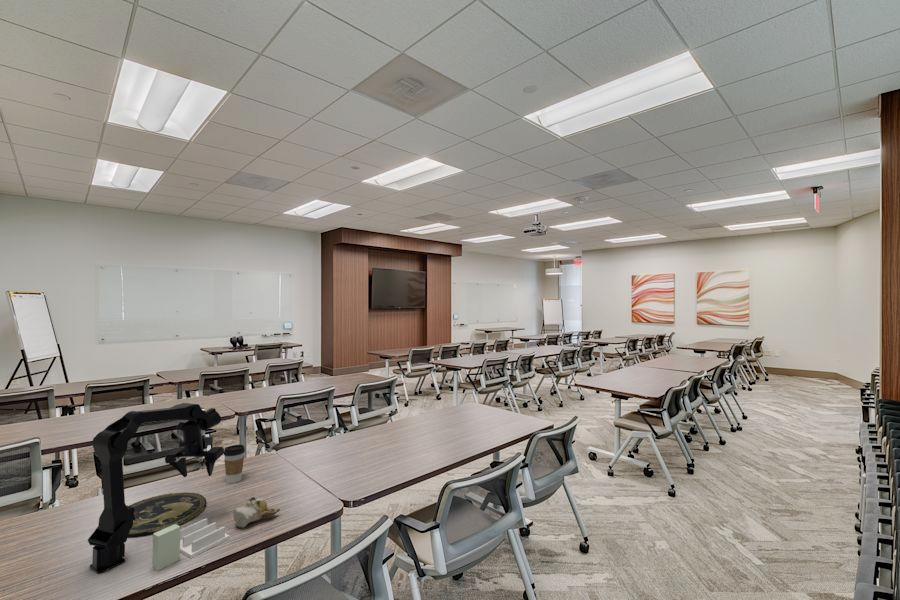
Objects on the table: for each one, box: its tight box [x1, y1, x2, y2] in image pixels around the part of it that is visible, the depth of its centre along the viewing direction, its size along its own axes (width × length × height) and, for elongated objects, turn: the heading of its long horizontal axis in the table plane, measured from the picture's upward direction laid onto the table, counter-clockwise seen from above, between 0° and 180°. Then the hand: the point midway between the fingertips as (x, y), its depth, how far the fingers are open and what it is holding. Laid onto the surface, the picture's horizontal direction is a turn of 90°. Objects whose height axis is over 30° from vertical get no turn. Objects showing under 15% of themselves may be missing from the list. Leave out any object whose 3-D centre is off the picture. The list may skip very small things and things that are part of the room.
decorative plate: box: [127, 491, 207, 539], centre depth 146 cm, size 30×2×30 cm
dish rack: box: [180, 517, 230, 559], centre depth 129 cm, size 12×13×4 cm
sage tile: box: [151, 524, 181, 572], centre depth 118 cm, size 6×3×10 cm, turn 150°
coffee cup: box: [223, 444, 246, 484], centre depth 175 cm, size 8×8×15 cm
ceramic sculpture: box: [232, 497, 281, 528], centre depth 142 cm, size 11×9×15 cm
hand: (198, 476), depth 145 cm, fingers open, 9 cm apart
